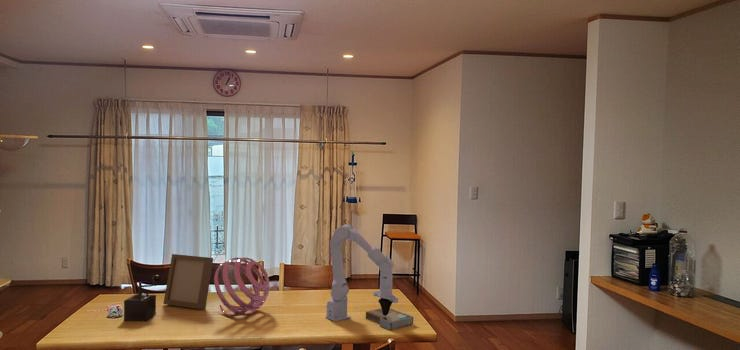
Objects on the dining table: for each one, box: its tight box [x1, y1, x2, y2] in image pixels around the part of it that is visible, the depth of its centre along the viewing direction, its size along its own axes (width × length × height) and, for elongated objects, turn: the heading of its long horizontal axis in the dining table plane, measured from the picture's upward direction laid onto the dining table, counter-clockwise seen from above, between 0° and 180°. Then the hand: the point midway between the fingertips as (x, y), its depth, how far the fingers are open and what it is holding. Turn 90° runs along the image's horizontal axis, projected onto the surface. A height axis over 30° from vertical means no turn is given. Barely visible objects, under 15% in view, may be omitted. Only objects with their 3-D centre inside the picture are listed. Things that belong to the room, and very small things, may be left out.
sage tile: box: [397, 314, 408, 320], centre depth 223 cm, size 5×5×3 cm
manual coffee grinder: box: [123, 274, 162, 322], centre depth 224 cm, size 16×11×18 cm
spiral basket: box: [213, 257, 271, 317], centre depth 231 cm, size 28×28×27 cm
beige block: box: [385, 312, 400, 322], centre depth 219 cm, size 5×5×3 cm
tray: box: [379, 312, 414, 332], centre depth 219 cm, size 14×7×4 cm, turn 130°
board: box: [365, 307, 402, 325], centre depth 228 cm, size 13×12×3 cm
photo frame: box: [163, 253, 214, 310], centre depth 244 cm, size 15×22×25 cm
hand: (385, 314), depth 222 cm, fingers closed
